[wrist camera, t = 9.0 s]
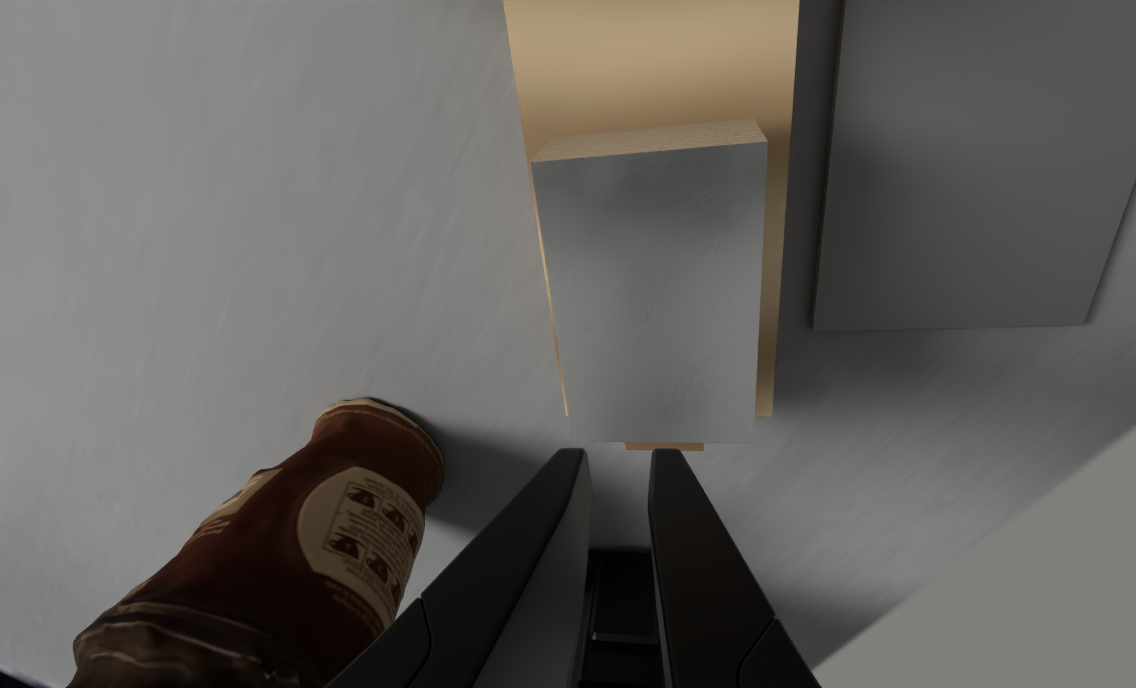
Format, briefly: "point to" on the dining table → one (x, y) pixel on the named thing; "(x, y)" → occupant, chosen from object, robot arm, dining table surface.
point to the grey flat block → (656, 278)
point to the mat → (974, 162)
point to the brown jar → (281, 568)
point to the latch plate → (664, 99)
